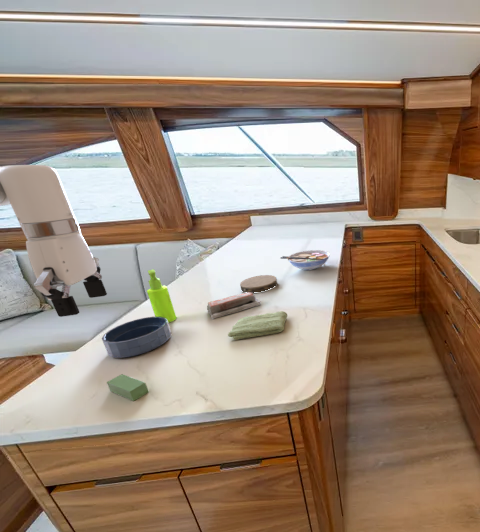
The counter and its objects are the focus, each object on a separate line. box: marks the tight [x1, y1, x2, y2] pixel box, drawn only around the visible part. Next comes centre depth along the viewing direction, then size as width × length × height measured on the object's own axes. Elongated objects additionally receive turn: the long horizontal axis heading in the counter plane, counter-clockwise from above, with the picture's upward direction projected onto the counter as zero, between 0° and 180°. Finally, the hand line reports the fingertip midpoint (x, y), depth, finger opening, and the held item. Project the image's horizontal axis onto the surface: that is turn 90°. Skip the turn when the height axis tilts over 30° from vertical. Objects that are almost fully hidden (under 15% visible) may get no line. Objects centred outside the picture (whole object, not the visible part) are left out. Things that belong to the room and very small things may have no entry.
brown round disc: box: [239, 274, 278, 294], centre depth 143 cm, size 16×16×3 cm
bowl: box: [101, 316, 173, 358], centre depth 97 cm, size 16×16×6 cm
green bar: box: [106, 373, 149, 402], centre depth 77 cm, size 10×3×3 cm, turn 69°
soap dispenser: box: [146, 268, 177, 323], centre depth 111 cm, size 6×7×20 cm
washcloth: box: [227, 310, 288, 341], centre depth 105 cm, size 13×18×3 cm
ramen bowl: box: [280, 249, 331, 271], centre depth 166 cm, size 25×23×8 cm
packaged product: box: [206, 292, 261, 320], centre depth 121 cm, size 18×5×10 cm
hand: (85, 305), depth 66 cm, fingers open, 9 cm apart
